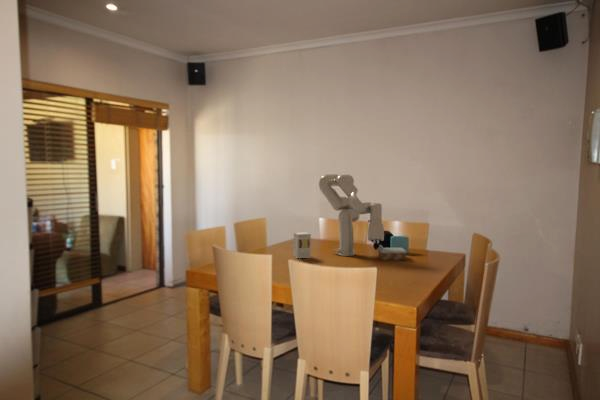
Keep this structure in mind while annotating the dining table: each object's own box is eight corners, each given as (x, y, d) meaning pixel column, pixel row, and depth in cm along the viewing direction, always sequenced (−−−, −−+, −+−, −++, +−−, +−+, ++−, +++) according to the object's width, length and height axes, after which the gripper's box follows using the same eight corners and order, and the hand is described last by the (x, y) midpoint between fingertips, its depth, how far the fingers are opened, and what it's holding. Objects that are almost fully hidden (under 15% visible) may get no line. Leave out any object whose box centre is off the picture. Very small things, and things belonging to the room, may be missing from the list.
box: (381, 260, 275) (381, 252, 275) (378, 256, 286) (378, 249, 286) (405, 260, 275) (405, 252, 274) (402, 256, 286) (402, 249, 285)
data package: (406, 252, 301) (406, 235, 301) (408, 253, 297) (408, 236, 296) (390, 252, 301) (390, 235, 300) (391, 253, 296) (392, 237, 295)
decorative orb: (368, 241, 318) (375, 226, 309) (384, 239, 324) (392, 225, 315) (377, 255, 308) (384, 240, 299) (393, 253, 314) (401, 239, 305)
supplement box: (297, 259, 280) (297, 234, 278) (293, 256, 288) (293, 232, 287) (311, 258, 283) (310, 233, 281) (306, 255, 291) (306, 231, 290)
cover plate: (381, 254, 274) (381, 247, 274) (378, 250, 287) (378, 244, 286) (406, 254, 274) (406, 247, 273) (401, 250, 286) (401, 244, 286)
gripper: (365, 222, 275) (365, 250, 277) (388, 222, 275) (388, 250, 276) (363, 221, 283) (363, 248, 284) (386, 221, 282) (386, 248, 284)
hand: (375, 249), depth 280 cm, fingers closed
